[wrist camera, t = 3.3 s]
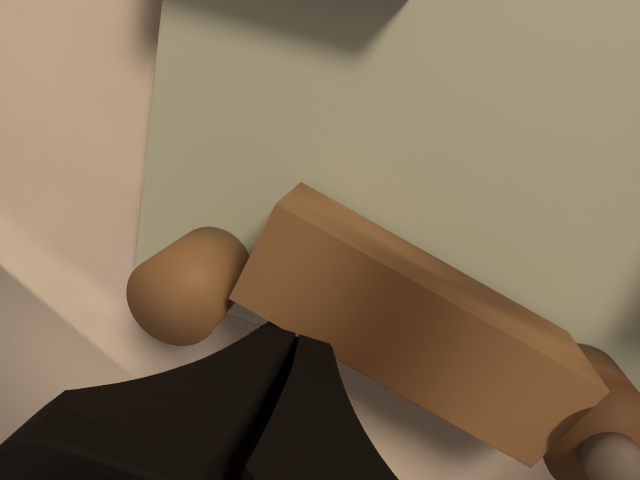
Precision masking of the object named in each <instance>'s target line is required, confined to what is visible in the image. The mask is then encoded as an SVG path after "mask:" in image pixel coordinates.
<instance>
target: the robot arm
mask: <svg viewBox="0 0 640 480" xmlns="http://www.w3.org/2000/svg"><path fill="white" fill-rule="evenodd" d="M295 335H296V333H295V332H291V331H288V330H285V329H282V328H280V327H278V326H277V325H275V324H273V323H271V322H270V321H268V322H266V323H265V324H263V325H262V326H260V327H259V328H257V329H256V330H254V331H253V332H251V333H250V334H248V335H247V336H245V337H244V338H242V339H240V340H238V341H237V342H235V343H233V344H231V345H229V346H228V347H226V348H224V349H222V350H220V351H218V352H216V353H214V354H212V355H210V356H208V357H205V358H203V359H201V360H198V361H196V362H193V363H190V364H187V365H184V366H181V367H178V368H175V369H172V370H169V371H166V372H163V373H159V374H155V375H151V376H148V377H144V378H139V379H135V380H130V381H126V382H120V383H115V384H109V385H102V386H95V387H88V388H82V389H74V390H65V391H64V392H62V393H61V394H60V395H59V396H57V397H56V398H55V399H53V400H52V401H51V402H49V403H48V404H47V405H45V406H44V407H43V408H42V409H41V410H39V411H38V412H37V413H36V414H35V415H34V416H32V417H31V418H30V419H29V420H28V421H27V422H26V423H24V424H23V425H22V426H21V427H20V428H19V429H18V430H16V431H15V432H14V433H13V434H12V435H11V436H10V437H9V438H7V439H6V440H5V441H4V442H3V443H2V444H1V445H0V480H398V478H397V477H396V476H395V475H394V473H393V472H392V471H391V469H390V468H389V467H388V465H387V464H386V463H385V461H384V460H383V459H382V457H381V456H380V455H379V453H378V452H377V450H376V448H375V447H374V445H373V444H372V442H371V440H370V439H369V437H368V436H367V434H366V432H365V431H364V429H363V427H362V425H361V423H360V421H359V420H358V418H357V416H356V414H355V412H354V409H353V407H352V405H351V403H350V401H349V398H348V396H347V393H346V391H345V388H344V385H343V382H342V379H341V377H340V373H339V370H338V367H337V363H336V359H335V355H334V350H333V348H332V346H331V344H330V343H327V342H323V341H320V340H317V339H314V338H311V337H307V336H304V335H301V334H300V335H299V338H298V337H296V336H295Z"/></svg>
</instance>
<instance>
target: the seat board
mask: <svg viewBox="0 0 640 480" xmlns="http://www.w3.org/2000/svg"><path fill="white" fill-rule="evenodd" d="M300 182H302V183H304V184H306V185H308V186H310V187H311V188H313V189H315V190H317V191H318V192H320V193H322V194H324V195H326V196H327V197H329V198H331V199H333V200H335V201H336V202H338V203H340V204H342V205H343V206H345V207H347V208H349V209H351V210H352V211H354V212H356V213H358V214H359V215H361V216H363V217H365V218H367V219H368V220H370V221H372V222H374V223H375V224H377V225H379V226H381V227H383V228H384V229H386V230H388V231H390V232H392V233H393V234H395V235H397V236H399V237H400V238H402V239H404V240H406V241H408V242H409V243H411V244H413V245H415V246H416V247H418V248H420V249H422V250H424V251H425V252H427V253H429V254H431V255H432V256H434V257H436V258H438V259H440V260H441V261H443V262H445V263H447V264H449V265H450V266H452V267H454V268H456V269H457V270H459V271H461V272H463V273H465V274H466V275H468V276H470V277H472V278H473V279H475V280H477V281H479V282H481V283H482V284H484V285H486V286H488V287H490V288H491V289H493V290H495V291H497V292H498V293H500V294H502V295H504V296H506V297H507V298H509V299H511V300H513V301H514V302H516V303H518V304H520V305H522V306H523V307H525V308H527V309H529V310H530V311H532V312H534V313H536V314H538V315H539V316H541V317H543V318H545V319H547V320H548V321H550V322H552V323H554V324H555V325H557V326H559V327H561V328H563V329H564V330H566V331H568V332H569V334H570V335H571V337H572V338H573V339H574V341H575V342H576V343H581V344H586V345H590V346H593V347H596V348H598V349H600V350H602V351H603V352H605V353H606V354H608V355H609V356H610V357H611V358H612V359H613V360H614V361H615V363H616V364H617V365H618V366H619V368H620V369H621V370H622V371H623V373H624V374H625V375H626V376H627V378H628V379H629V380H630V381H631V383H632V384H633V385H634V386H635V388H636V389H637V390H638V391H639V393H640V0H162V8H161V18H160V27H159V37H158V46H157V56H156V66H155V75H154V85H153V94H152V104H151V114H150V123H149V133H148V142H147V152H146V161H145V171H144V181H143V190H142V200H141V209H140V219H139V228H138V238H137V248H136V257H135V267H134V271H133V272H132V274H131V276H130V277H129V280H128V284H127V301H128V305H129V308H130V311H131V313H132V315H133V317H134V318H135V320H136V321H137V322H138V324H139V325H140V326H141V327H142V328H143V329H144V330H145V331H146V332H147V333H148V334H150V335H151V336H153V337H154V338H156V339H158V340H159V341H162V342H164V343H167V344H171V345H176V346H188V345H193V344H196V343H198V342H200V341H202V340H204V339H205V338H206V337H207V336H208V335H209V334H210V333H211V332H212V331H213V330H214V328H215V327H216V326H217V325H218V323H219V322H220V321H221V320H222V318H223V317H224V316H225V315H226V314H228V315H231V316H234V317H237V318H240V319H243V320H246V321H249V322H252V323H255V324H258V325H263V324H265V323H266V322H268V320H266V319H264V318H262V317H261V316H259V315H257V314H255V313H253V312H252V311H250V310H248V309H246V308H245V307H243V306H241V305H239V304H237V303H236V302H234V301H232V300H230V299H229V297H230V295H231V293H232V291H233V289H234V287H235V285H236V283H237V281H238V279H239V277H240V275H241V273H242V271H243V269H244V267H245V265H246V263H247V261H248V259H249V257H250V255H251V253H252V251H253V249H254V247H255V244H256V242H257V240H258V238H259V236H260V234H261V232H262V230H263V228H264V226H265V224H266V222H267V220H268V218H269V216H270V214H271V212H272V210H273V208H274V206H275V204H276V203H277V202H278V201H279V200H281V199H282V198H283V197H284V196H285V195H286V194H287V193H289V192H290V191H291V190H292V189H293V188H294V187H296V186H297V185H298V184H299V183H300Z"/></svg>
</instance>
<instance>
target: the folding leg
mask: <svg viewBox="0 0 640 480" xmlns="http://www.w3.org/2000/svg"><path fill="white" fill-rule="evenodd" d="M229 299H230V300H232V301H234V302H236V303H237V304H239V305H241V306H243V307H245V308H246V309H248V310H250V311H252V312H253V313H255V314H257V315H259V316H261V317H262V318H264V319H266V320H268V321H270V322H271V323H273V324H275V325H277V326H278V327H280V328H282V329H285V330H288V331H291V332H295V333H296V335H295V336H296V337H298V338H299V335H300V334H301V335H304V336H307V337H311V338H314V339H317V340H320V341H323V342H327V343H330V344H331V346H332V348H333V350H334V355H335V359H337V360H339V361H341V362H343V363H344V364H346V365H348V366H350V367H352V368H353V369H355V370H357V371H359V372H360V373H362V374H364V375H366V376H368V377H369V378H371V379H373V380H375V381H376V382H378V383H380V384H382V385H384V386H385V387H387V388H389V389H391V390H393V391H394V392H396V393H398V394H400V395H401V396H403V397H405V398H407V399H409V400H410V401H412V402H414V403H416V404H417V405H419V406H421V407H423V408H425V409H426V410H428V411H430V412H432V413H434V414H435V415H437V416H439V417H441V418H442V419H444V420H446V421H448V422H450V423H451V424H453V425H455V426H457V427H458V428H460V429H462V430H464V431H466V432H467V433H469V434H471V435H473V436H474V437H476V438H478V439H480V440H482V441H483V442H485V443H487V444H489V445H491V446H492V447H494V448H496V449H498V450H499V451H501V452H503V453H505V454H507V455H508V456H510V457H512V458H514V459H515V460H517V461H519V462H521V463H523V464H524V465H526V466H528V467H530V468H531V467H532V466H533V465H534V464H535V463H536V462H537V461H539V460H540V459H541V458H542V457H543V459H544V461H545V464H546V466H547V468H548V470H549V472H550V473H551V475H552V476H553V477H554V478H555V479H556V480H640V393H639V391H638V390H637V389H636V388H635V386H634V385H633V384H632V383H631V381H630V380H629V379H628V378H627V376H626V375H625V374H624V373H623V371H622V370H621V369H620V368H619V366H618V365H617V364H616V363H615V361H614V360H613V359H612V358H611V357H610V356H609V355H608V354H606V353H605V352H603V351H602V350H600V349H598V348H596V347H593V346H590V345H586V344H581V343H576V342H575V341H574V339H573V338H572V337H571V335H570V334H569V332H568V331H566V330H564V329H563V328H561V327H559V326H557V325H555V324H554V323H552V322H550V321H548V320H547V319H545V318H543V317H541V316H539V315H538V314H536V313H534V312H532V311H530V310H529V309H527V308H525V307H523V306H522V305H520V304H518V303H516V302H514V301H513V300H511V299H509V298H507V297H506V296H504V295H502V294H500V293H498V292H497V291H495V290H493V289H491V288H490V287H488V286H486V285H484V284H482V283H481V282H479V281H477V280H475V279H473V278H472V277H470V276H468V275H466V274H465V273H463V272H461V271H459V270H457V269H456V268H454V267H452V266H450V265H449V264H447V263H445V262H443V261H441V260H440V259H438V258H436V257H434V256H432V255H431V254H429V253H427V252H425V251H424V250H422V249H420V248H418V247H416V246H415V245H413V244H411V243H409V242H408V241H406V240H404V239H402V238H400V237H399V236H397V235H395V234H393V233H392V232H390V231H388V230H386V229H384V228H383V227H381V226H379V225H377V224H375V223H374V222H372V221H370V220H368V219H367V218H365V217H363V216H361V215H359V214H358V213H356V212H354V211H352V210H351V209H349V208H347V207H345V206H343V205H342V204H340V203H338V202H336V201H335V200H333V199H331V198H329V197H327V196H326V195H324V194H322V193H320V192H318V191H317V190H315V189H313V188H311V187H310V186H308V185H306V184H304V183H302V182H300V183H299V184H298V185H297V186H296V187H294V188H293V189H292V190H291V191H290V192H289V193H287V194H286V195H285V196H284V197H283V198H282V199H281V200H279V201H278V202H277V203H276V204H275V206H274V208H273V210H272V212H271V214H270V216H269V218H268V220H267V222H266V224H265V226H264V228H263V230H262V232H261V234H260V236H259V238H258V240H257V242H256V244H255V247H254V249H253V251H252V253H251V255H250V257H249V259H248V261H247V263H246V265H245V267H244V269H243V271H242V273H241V275H240V277H239V279H238V281H237V283H236V285H235V287H234V289H233V291H232V293H231V295H230V297H229Z"/></svg>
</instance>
